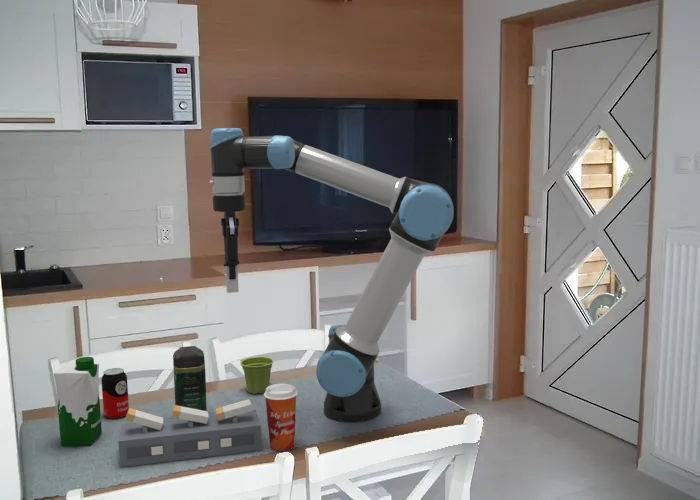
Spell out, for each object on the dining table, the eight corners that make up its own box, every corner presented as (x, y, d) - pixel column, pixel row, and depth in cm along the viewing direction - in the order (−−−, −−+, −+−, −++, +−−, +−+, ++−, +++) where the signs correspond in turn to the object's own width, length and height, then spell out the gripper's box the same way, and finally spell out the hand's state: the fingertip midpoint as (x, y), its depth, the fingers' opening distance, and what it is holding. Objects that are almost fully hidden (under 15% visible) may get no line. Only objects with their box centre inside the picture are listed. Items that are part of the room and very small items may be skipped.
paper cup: (271, 455, 156) (269, 396, 154) (261, 442, 163) (259, 385, 161) (304, 449, 159) (302, 390, 157) (293, 436, 166) (291, 380, 164)
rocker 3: (250, 405, 164) (249, 398, 163) (252, 410, 160) (251, 404, 160) (217, 414, 162) (215, 408, 162) (218, 420, 158) (216, 414, 158)
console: (256, 433, 168) (255, 404, 167) (261, 451, 158) (260, 421, 157) (123, 448, 161) (121, 419, 160) (119, 468, 151) (117, 436, 150)
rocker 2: (205, 418, 161) (207, 411, 161) (206, 423, 158) (208, 417, 158) (171, 411, 159) (173, 404, 159) (171, 417, 156) (173, 410, 155)
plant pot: (234, 392, 197) (233, 363, 195) (257, 383, 204) (256, 354, 203) (259, 398, 191) (258, 368, 190) (281, 388, 199) (280, 359, 198)
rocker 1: (160, 424, 159) (163, 417, 159) (160, 430, 155) (163, 423, 155) (126, 414, 157) (129, 407, 156) (125, 420, 153) (128, 413, 153)
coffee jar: (208, 423, 174) (205, 352, 172) (176, 427, 172) (172, 355, 170) (205, 410, 184) (202, 342, 181) (175, 413, 181) (171, 345, 179)
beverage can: (102, 420, 177) (99, 375, 176) (105, 411, 183) (102, 368, 182) (127, 418, 179) (125, 373, 177) (130, 409, 185) (127, 366, 183)
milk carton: (92, 447, 161) (86, 365, 158) (54, 447, 162) (48, 365, 159) (107, 432, 170) (101, 353, 167) (70, 432, 170) (64, 353, 167)
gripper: (211, 193, 169) (215, 287, 172) (214, 196, 156) (218, 298, 160) (241, 192, 171) (245, 285, 174) (247, 195, 158) (251, 296, 162)
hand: (232, 291), depth 167 cm, fingers closed
